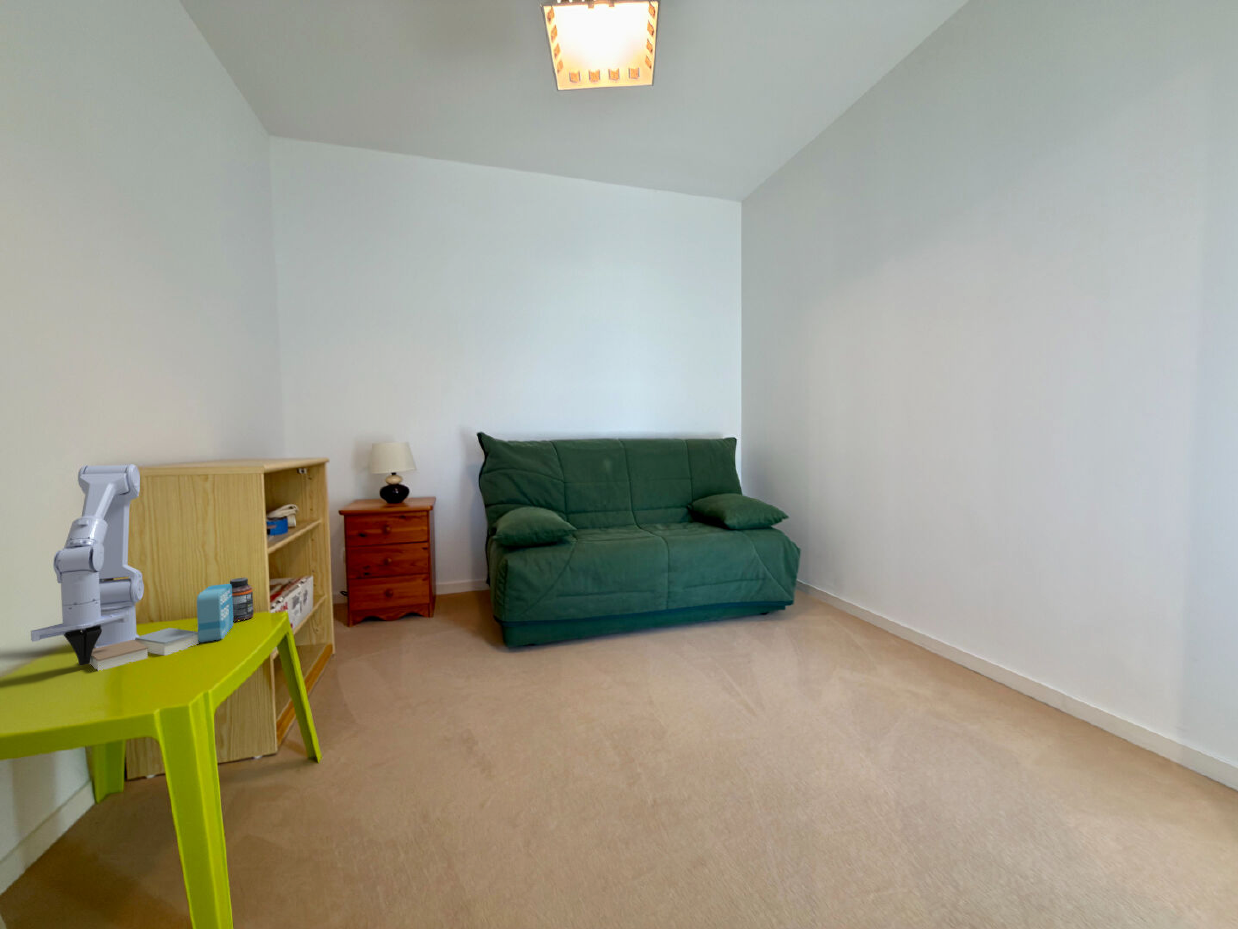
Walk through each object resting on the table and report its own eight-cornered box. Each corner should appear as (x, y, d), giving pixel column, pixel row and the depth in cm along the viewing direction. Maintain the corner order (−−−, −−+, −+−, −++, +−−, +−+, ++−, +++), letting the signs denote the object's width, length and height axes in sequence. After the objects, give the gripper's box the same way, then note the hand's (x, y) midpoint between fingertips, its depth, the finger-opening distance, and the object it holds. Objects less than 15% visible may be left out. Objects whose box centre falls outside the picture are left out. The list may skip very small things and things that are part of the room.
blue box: (221, 641, 125) (219, 593, 124) (198, 644, 123) (196, 595, 122) (233, 626, 135) (231, 582, 135) (212, 629, 134) (210, 584, 133)
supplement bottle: (230, 617, 143) (229, 578, 143) (256, 614, 146) (254, 575, 145) (224, 624, 138) (222, 582, 138) (250, 620, 140) (248, 580, 140)
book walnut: (86, 663, 114) (85, 650, 114) (134, 651, 120) (133, 639, 120) (98, 673, 108) (98, 659, 108) (148, 660, 115) (147, 647, 115)
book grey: (135, 652, 120) (134, 637, 120) (169, 641, 126) (169, 627, 126) (165, 657, 116) (164, 642, 116) (199, 646, 123) (198, 632, 123)
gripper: (33, 613, 101) (36, 680, 102) (131, 596, 113) (134, 656, 114) (28, 608, 105) (31, 672, 106) (123, 591, 117) (126, 649, 118)
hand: (84, 663), depth 110 cm, fingers closed
